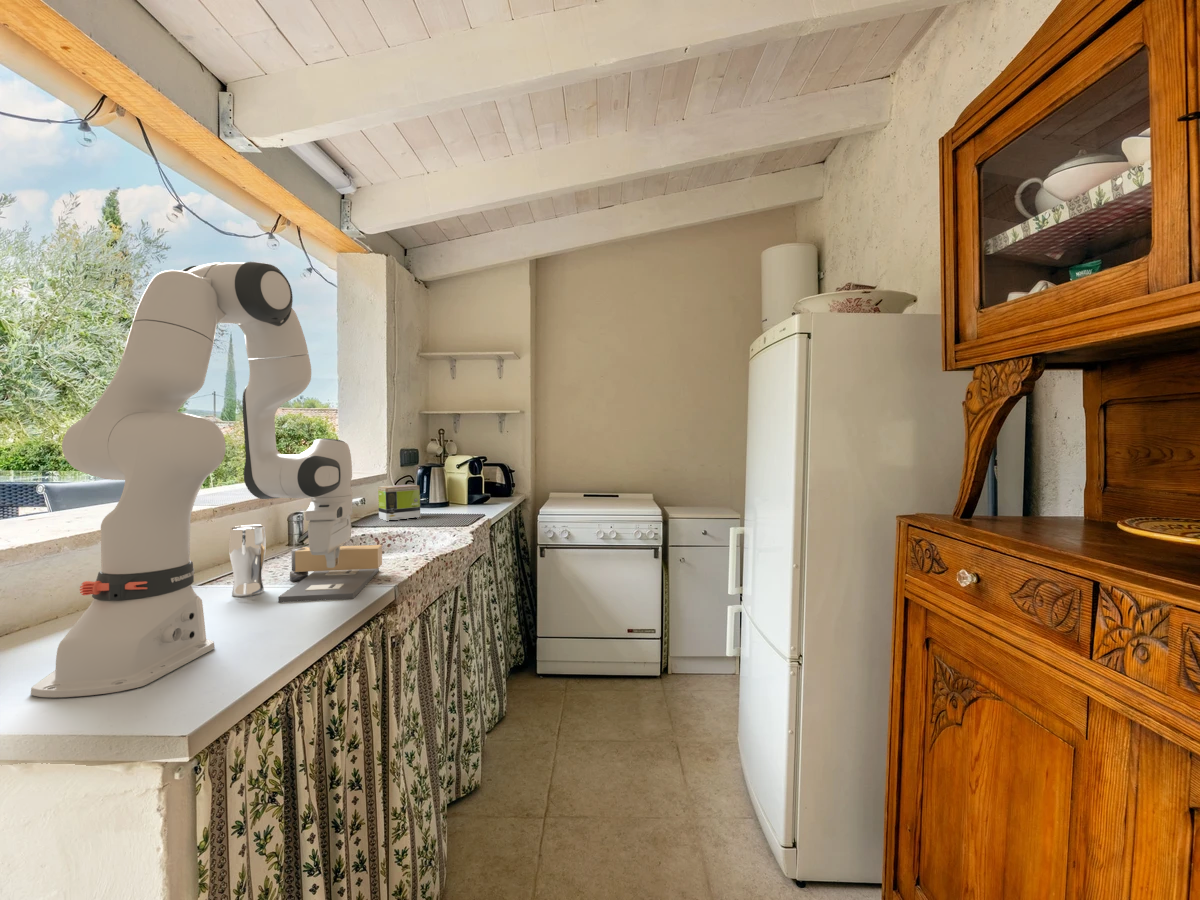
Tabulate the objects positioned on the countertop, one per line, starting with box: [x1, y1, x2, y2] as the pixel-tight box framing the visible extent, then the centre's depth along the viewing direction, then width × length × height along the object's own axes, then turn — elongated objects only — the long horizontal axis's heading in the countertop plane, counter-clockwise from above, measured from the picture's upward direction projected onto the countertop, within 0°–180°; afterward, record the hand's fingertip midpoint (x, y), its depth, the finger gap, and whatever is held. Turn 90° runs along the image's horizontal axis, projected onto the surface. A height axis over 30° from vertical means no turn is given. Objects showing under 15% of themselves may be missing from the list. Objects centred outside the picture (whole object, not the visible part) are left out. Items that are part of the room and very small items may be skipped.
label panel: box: [277, 567, 380, 603], centre depth 132 cm, size 26×15×2 cm, turn 10°
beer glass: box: [228, 524, 267, 598], centre depth 124 cm, size 7×7×15 cm
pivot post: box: [289, 570, 309, 583], centre depth 137 cm, size 4×4×2 cm
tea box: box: [377, 484, 421, 522], centre depth 241 cm, size 15×10×15 cm
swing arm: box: [290, 544, 383, 572], centre depth 138 cm, size 5×21×5 cm, turn 100°
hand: (332, 566), depth 130 cm, fingers closed
